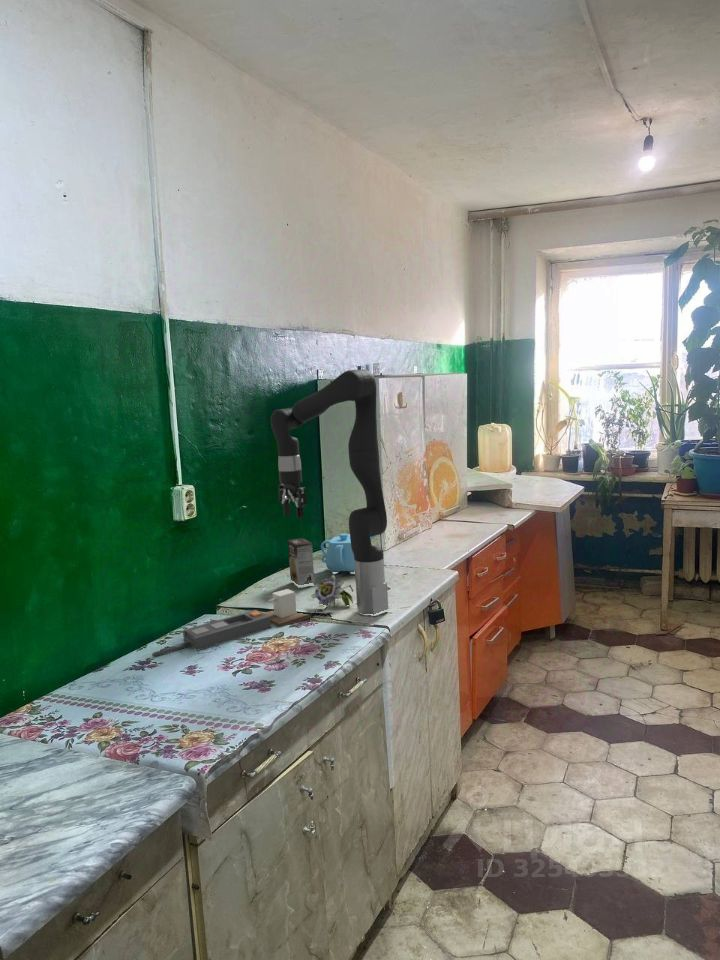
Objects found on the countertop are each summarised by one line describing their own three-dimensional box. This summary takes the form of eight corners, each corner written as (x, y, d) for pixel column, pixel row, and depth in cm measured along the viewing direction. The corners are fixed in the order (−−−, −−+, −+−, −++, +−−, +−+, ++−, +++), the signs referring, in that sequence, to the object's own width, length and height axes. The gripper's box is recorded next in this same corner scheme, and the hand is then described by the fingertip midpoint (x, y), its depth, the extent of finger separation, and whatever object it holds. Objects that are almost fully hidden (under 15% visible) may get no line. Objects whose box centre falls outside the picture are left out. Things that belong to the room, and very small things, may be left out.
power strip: (270, 627, 207) (269, 614, 207) (158, 662, 187) (156, 647, 186) (256, 620, 214) (255, 607, 214) (146, 652, 194) (145, 638, 193)
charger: (296, 613, 215) (294, 592, 214) (273, 620, 210) (271, 598, 209) (289, 610, 219) (287, 588, 218) (266, 616, 214) (264, 595, 213)
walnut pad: (312, 616, 214) (312, 613, 214) (279, 627, 207) (278, 623, 207) (292, 607, 224) (292, 604, 224) (259, 617, 217) (259, 614, 217)
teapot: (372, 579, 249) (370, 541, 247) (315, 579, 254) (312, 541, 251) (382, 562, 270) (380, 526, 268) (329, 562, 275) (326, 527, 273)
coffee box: (290, 582, 251) (286, 540, 249) (306, 579, 254) (303, 537, 251) (298, 589, 243) (295, 545, 240) (315, 586, 245) (312, 542, 243)
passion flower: (327, 624, 222) (303, 596, 221) (340, 607, 231) (318, 580, 231) (350, 609, 216) (326, 580, 216) (363, 592, 225) (340, 564, 225)
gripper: (311, 468, 224) (314, 517, 227) (288, 465, 236) (292, 511, 238) (291, 471, 220) (295, 521, 223) (269, 468, 231) (273, 515, 234)
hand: (293, 516), depth 230 cm, fingers open, 8 cm apart
